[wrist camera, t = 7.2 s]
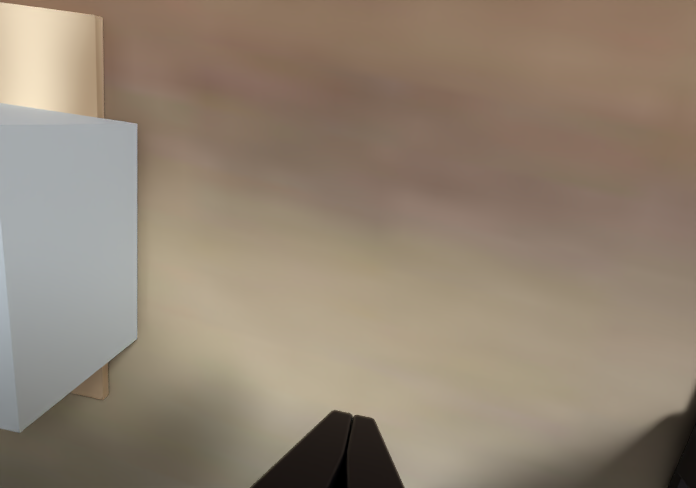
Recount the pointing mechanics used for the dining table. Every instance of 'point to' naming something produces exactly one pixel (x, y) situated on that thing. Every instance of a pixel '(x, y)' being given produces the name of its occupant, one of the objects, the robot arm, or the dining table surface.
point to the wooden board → (54, 81)
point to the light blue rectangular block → (63, 254)
